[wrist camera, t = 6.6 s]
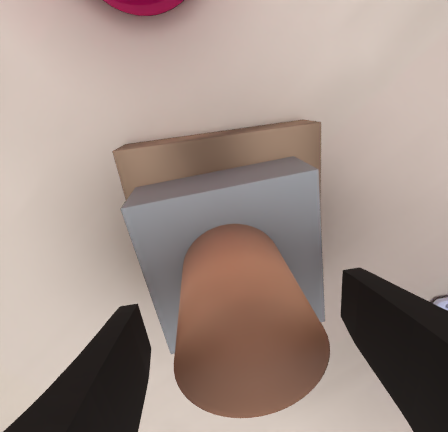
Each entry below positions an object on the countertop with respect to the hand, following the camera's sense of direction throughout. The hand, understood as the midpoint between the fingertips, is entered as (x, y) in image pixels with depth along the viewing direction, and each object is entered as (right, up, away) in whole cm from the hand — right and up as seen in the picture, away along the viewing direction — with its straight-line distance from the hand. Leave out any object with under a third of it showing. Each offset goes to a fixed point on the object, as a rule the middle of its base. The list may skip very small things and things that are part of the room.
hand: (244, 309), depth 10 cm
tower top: (0, +2, +6) cm, 6 cm away
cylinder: (0, +1, +3) cm, 3 cm away
